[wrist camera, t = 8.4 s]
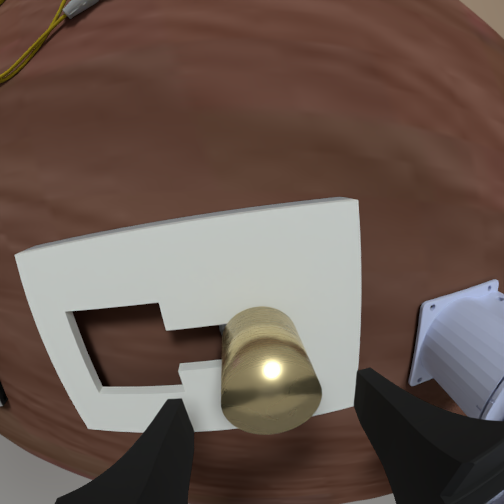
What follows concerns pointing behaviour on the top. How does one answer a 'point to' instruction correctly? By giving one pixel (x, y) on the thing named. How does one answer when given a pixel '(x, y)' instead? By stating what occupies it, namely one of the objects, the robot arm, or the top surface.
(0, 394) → the graphics card
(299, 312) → the keyhole plate
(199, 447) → the top surface
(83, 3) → the yellow coiled cable
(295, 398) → the gold cylindrical piece
